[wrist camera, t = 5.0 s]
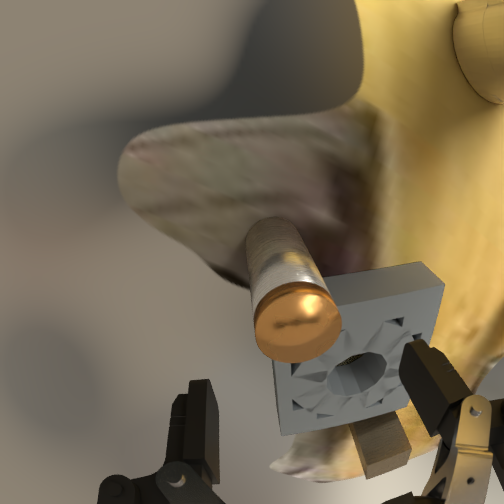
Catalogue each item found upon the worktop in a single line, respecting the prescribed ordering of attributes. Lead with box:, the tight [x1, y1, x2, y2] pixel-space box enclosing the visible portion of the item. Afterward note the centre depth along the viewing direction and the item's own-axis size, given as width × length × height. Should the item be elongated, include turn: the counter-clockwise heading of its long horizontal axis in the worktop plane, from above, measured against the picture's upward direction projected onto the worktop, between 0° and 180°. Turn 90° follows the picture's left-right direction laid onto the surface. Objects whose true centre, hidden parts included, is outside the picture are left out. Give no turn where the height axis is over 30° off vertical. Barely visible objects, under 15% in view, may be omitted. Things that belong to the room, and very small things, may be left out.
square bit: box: [348, 411, 412, 479], centre depth 29 cm, size 5×5×9 cm
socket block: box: [272, 262, 445, 436], centre depth 26 cm, size 16×14×4 cm
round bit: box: [245, 217, 342, 363], centre depth 18 cm, size 4×4×10 cm
